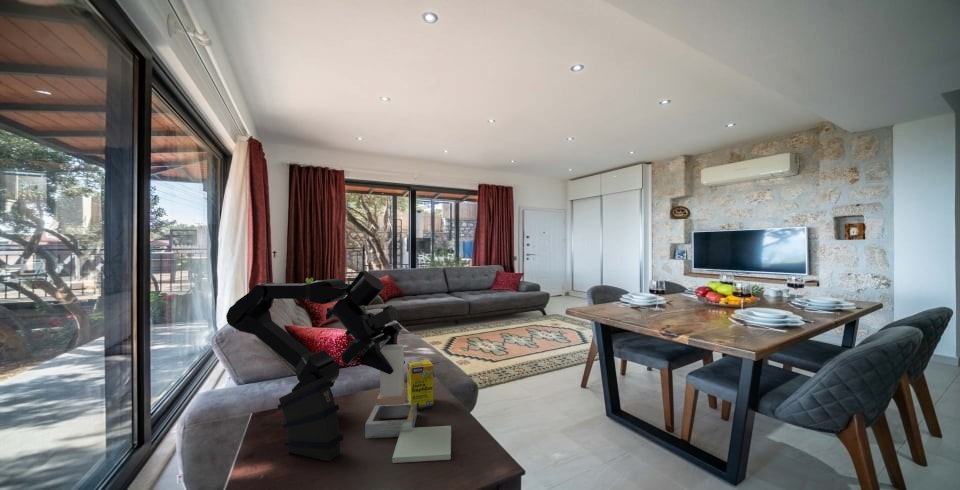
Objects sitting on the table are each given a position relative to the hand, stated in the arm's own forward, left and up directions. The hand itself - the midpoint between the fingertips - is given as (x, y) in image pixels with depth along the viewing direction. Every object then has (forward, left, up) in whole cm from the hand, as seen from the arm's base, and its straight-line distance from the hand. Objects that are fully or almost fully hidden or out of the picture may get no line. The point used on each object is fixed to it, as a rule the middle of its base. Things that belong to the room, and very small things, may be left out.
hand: (398, 368), depth 79 cm
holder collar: (-1, 0, -13) cm, 13 cm away
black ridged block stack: (-16, -9, -13) cm, 23 cm away
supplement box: (+4, +11, -13) cm, 18 cm away
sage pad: (+7, -9, -13) cm, 17 cm away
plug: (-1, 0, -7) cm, 7 cm away
